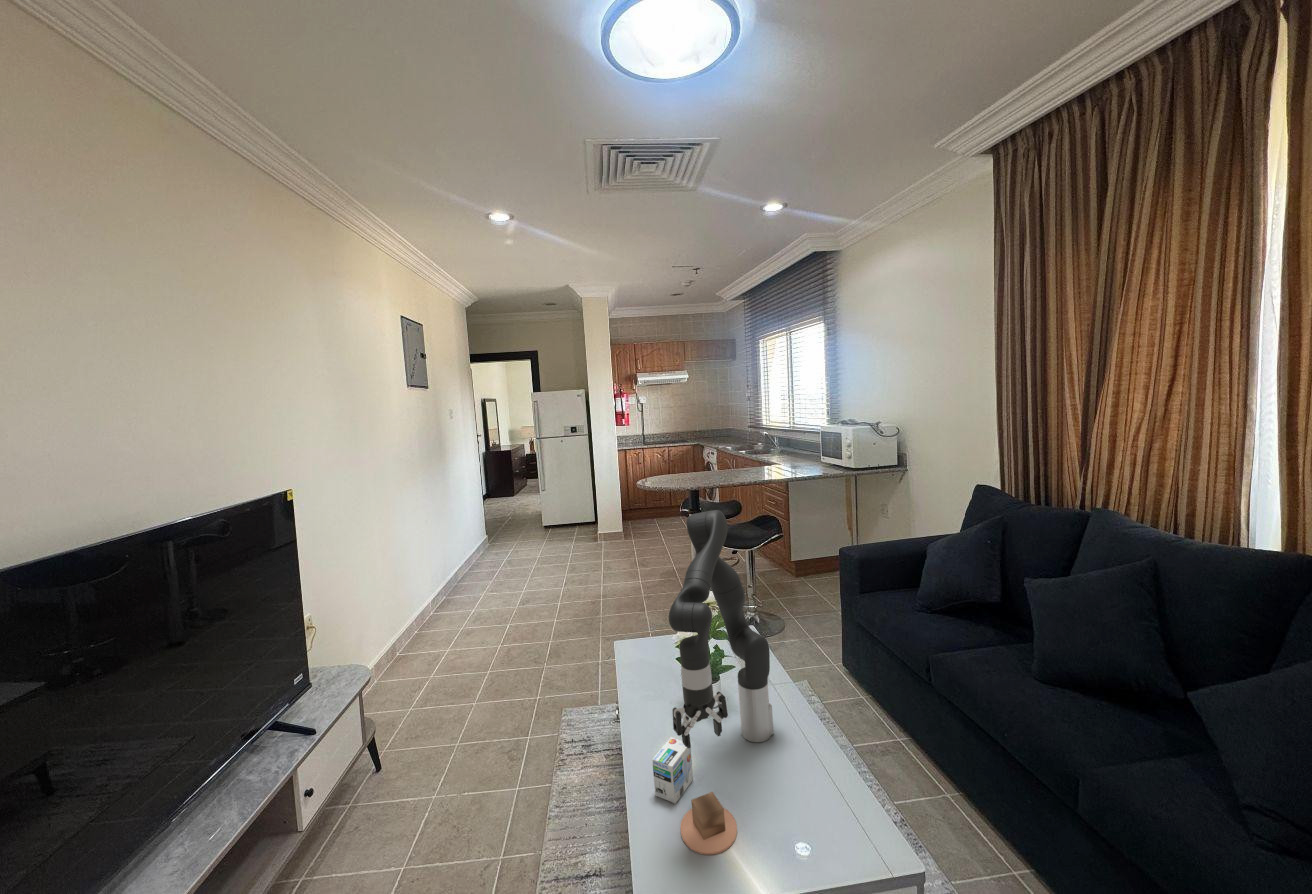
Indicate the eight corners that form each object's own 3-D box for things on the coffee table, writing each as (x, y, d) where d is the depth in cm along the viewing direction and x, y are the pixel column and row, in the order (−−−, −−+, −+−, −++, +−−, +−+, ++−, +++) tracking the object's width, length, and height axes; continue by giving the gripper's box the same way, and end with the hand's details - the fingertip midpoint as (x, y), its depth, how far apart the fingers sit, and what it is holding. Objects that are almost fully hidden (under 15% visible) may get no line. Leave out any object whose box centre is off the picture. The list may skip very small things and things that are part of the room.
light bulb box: (675, 804, 138) (672, 767, 137) (654, 796, 142) (651, 759, 141) (694, 778, 147) (691, 742, 146) (673, 770, 151) (670, 736, 150)
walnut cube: (713, 813, 133) (712, 791, 132) (725, 830, 127) (723, 808, 127) (692, 822, 131) (691, 800, 130) (703, 840, 125) (701, 817, 125)
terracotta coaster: (720, 800, 138) (720, 797, 138) (747, 841, 125) (747, 837, 125) (672, 819, 133) (671, 816, 133) (695, 863, 120) (695, 859, 120)
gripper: (714, 664, 135) (719, 722, 137) (664, 681, 130) (671, 741, 132) (729, 678, 128) (734, 739, 130) (677, 696, 123) (684, 759, 125)
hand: (702, 740), depth 131 cm, fingers open, 8 cm apart
